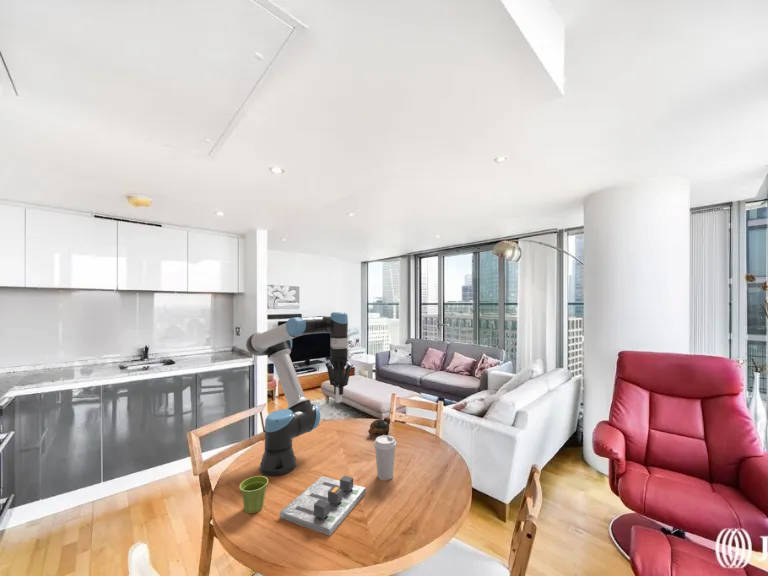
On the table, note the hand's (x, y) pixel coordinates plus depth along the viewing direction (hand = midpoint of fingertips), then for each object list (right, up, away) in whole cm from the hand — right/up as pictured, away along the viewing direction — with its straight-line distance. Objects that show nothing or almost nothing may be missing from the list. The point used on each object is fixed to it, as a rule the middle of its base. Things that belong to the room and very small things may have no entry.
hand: (338, 401), depth 136 cm
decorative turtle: (+17, -32, +37) cm, 52 cm away
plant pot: (-26, -28, -26) cm, 46 cm away
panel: (-1, -28, -24) cm, 37 cm away
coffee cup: (+20, -29, -5) cm, 36 cm away
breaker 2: (+2, -26, -25) cm, 36 cm away
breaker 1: (-1, -25, -33) cm, 41 cm away
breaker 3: (+6, -26, -18) cm, 32 cm away
